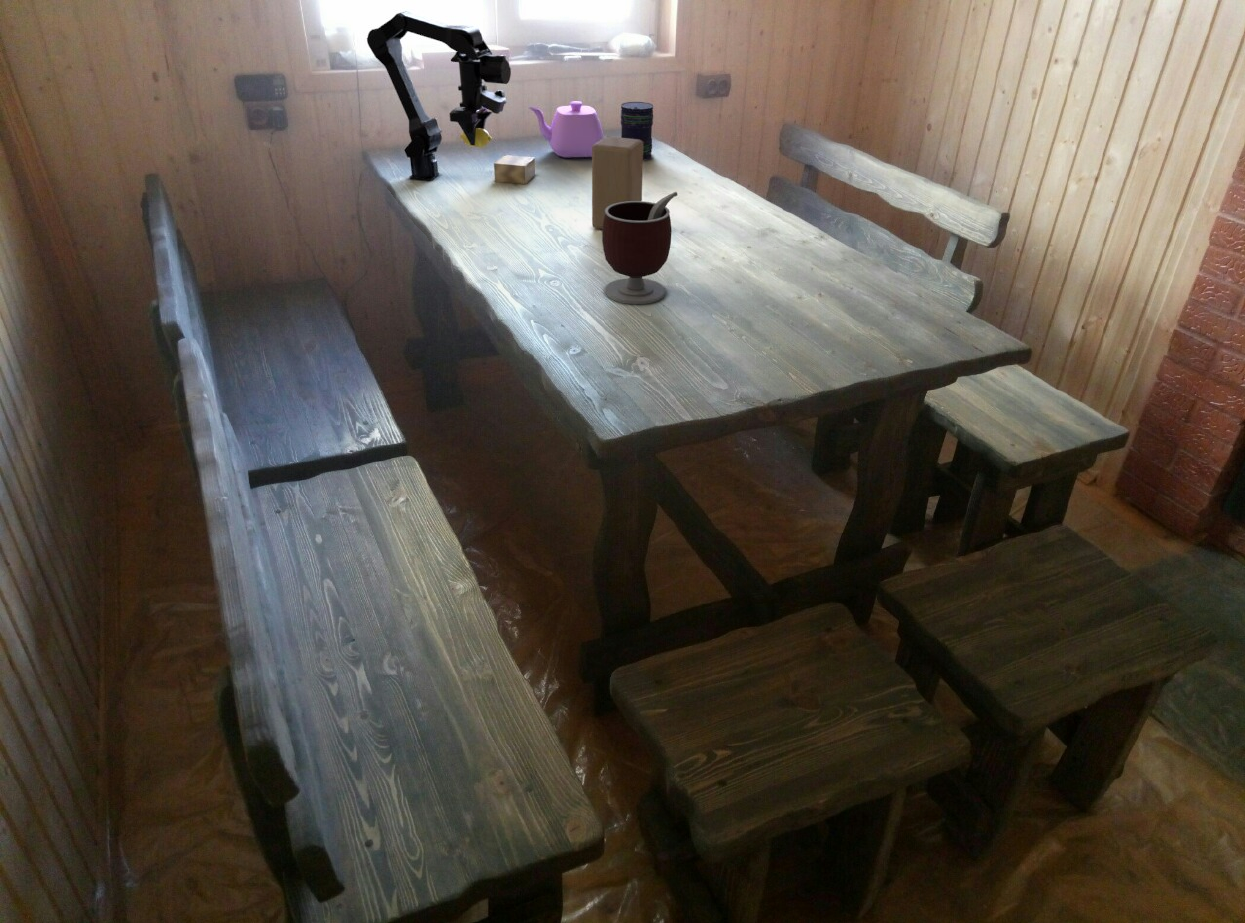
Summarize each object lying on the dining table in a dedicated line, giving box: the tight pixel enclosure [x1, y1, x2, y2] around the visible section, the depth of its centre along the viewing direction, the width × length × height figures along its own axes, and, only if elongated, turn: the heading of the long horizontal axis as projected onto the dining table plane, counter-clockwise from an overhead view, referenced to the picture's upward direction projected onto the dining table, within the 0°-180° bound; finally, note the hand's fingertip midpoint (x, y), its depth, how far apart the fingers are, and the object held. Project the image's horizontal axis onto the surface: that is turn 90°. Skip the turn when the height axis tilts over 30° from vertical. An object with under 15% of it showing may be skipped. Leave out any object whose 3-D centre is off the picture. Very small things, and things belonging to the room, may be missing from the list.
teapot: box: [527, 100, 604, 159], centre depth 268 cm, size 23×21×15 cm
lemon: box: [459, 128, 493, 148], centre depth 236 cm, size 9×5×5 cm, turn 76°
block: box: [591, 135, 644, 230], centre depth 211 cm, size 10×10×20 cm
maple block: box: [493, 154, 536, 185], centre depth 247 cm, size 9×9×5 cm
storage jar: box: [620, 101, 654, 162], centre depth 265 cm, size 10×10×15 cm
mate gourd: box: [601, 191, 678, 305], centre depth 177 cm, size 16×14×20 cm
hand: (476, 142), depth 237 cm, fingers closed on lemon, 5 cm apart
